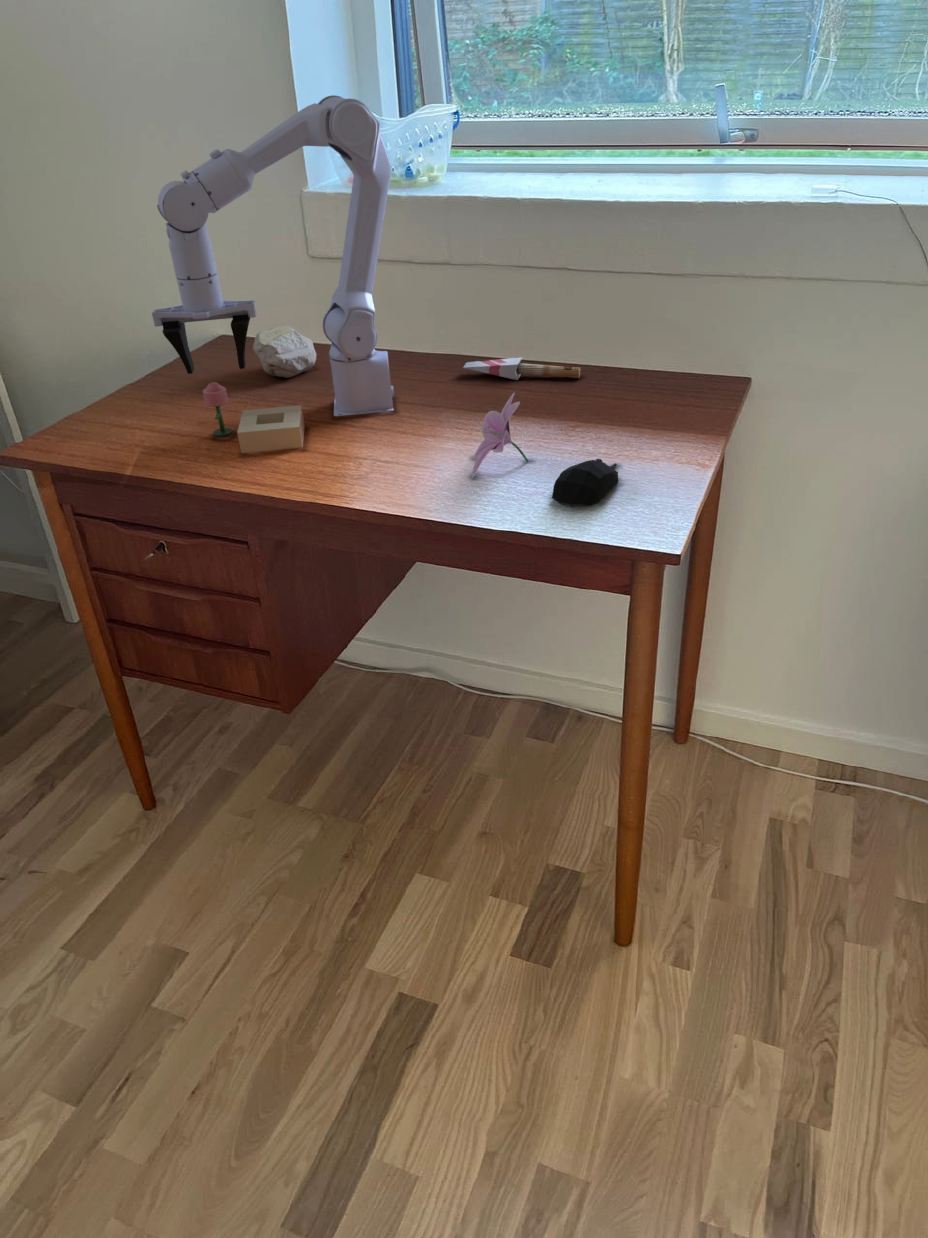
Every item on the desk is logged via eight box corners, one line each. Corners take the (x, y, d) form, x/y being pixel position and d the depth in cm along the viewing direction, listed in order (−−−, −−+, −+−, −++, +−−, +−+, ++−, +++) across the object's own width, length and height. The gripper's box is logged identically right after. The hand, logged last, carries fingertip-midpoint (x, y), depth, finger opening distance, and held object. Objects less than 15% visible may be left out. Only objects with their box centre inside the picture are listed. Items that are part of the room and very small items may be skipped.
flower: (236, 431, 144) (225, 377, 140) (233, 442, 141) (222, 387, 136) (214, 434, 144) (202, 379, 139) (211, 444, 141) (198, 389, 136)
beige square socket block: (305, 428, 144) (301, 404, 142) (303, 450, 137) (299, 426, 135) (247, 433, 144) (242, 410, 142) (242, 456, 136) (237, 432, 134)
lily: (495, 447, 136) (461, 397, 131) (564, 426, 130) (531, 373, 124) (473, 504, 130) (435, 454, 124) (544, 485, 123) (508, 432, 117)
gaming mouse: (637, 470, 125) (638, 442, 123) (587, 515, 115) (588, 486, 112) (594, 461, 128) (595, 434, 126) (543, 505, 118) (542, 476, 115)
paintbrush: (467, 352, 161) (581, 361, 156) (467, 368, 162) (580, 377, 158) (461, 359, 158) (578, 368, 153) (461, 375, 159) (577, 385, 155)
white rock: (329, 363, 171) (279, 367, 173) (320, 317, 167) (269, 322, 169) (306, 381, 160) (253, 385, 163) (296, 332, 156) (242, 337, 159)
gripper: (139, 286, 127) (163, 382, 135) (246, 277, 128) (263, 372, 135) (148, 274, 133) (170, 367, 140) (250, 265, 134) (266, 357, 141)
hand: (216, 369), depth 138 cm, fingers open, 7 cm apart
